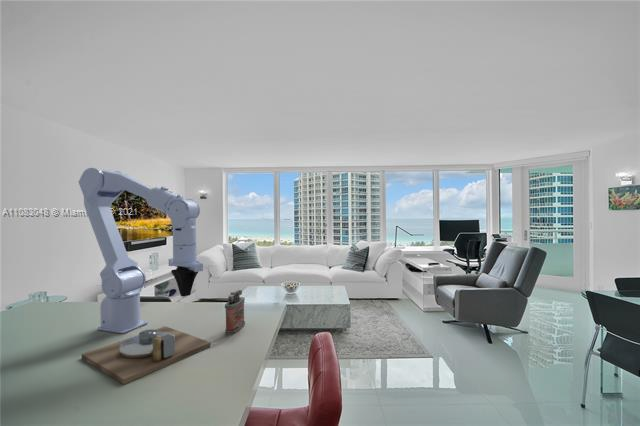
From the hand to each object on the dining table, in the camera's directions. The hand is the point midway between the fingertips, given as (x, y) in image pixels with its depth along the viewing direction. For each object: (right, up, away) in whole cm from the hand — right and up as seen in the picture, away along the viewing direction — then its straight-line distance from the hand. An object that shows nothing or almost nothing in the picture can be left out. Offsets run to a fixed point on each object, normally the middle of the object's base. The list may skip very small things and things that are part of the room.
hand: (185, 295), depth 84 cm
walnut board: (-3, -10, -13) cm, 16 cm away
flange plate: (-2, -8, -13) cm, 16 cm away
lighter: (+13, -10, +1) cm, 16 cm away
